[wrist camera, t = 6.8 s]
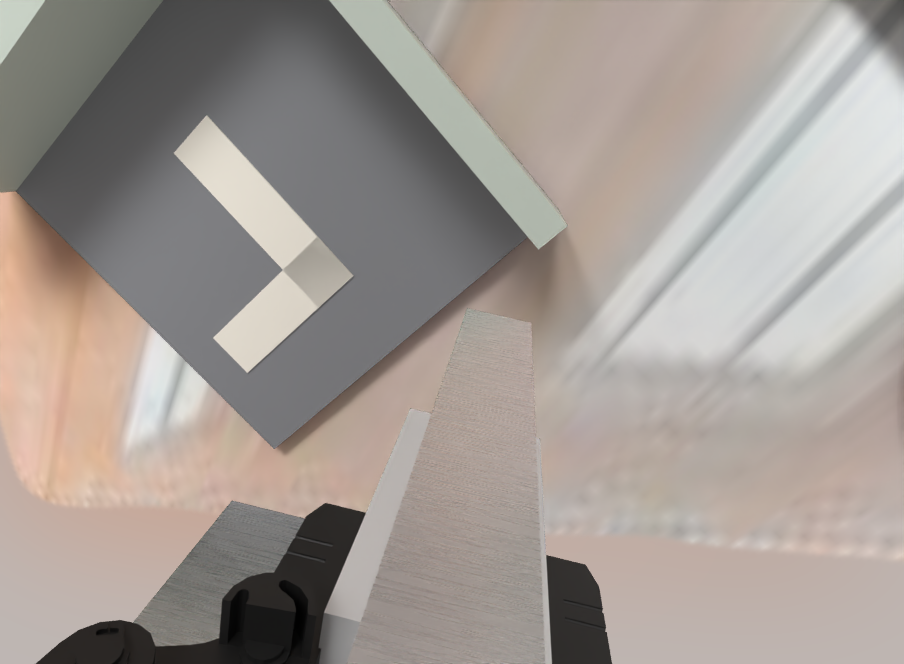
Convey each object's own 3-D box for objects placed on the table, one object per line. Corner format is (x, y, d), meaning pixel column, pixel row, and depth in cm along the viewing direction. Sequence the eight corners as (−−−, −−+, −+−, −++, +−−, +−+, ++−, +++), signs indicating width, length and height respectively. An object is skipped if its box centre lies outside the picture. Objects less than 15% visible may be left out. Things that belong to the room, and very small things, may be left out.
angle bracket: (458, 602, 19) (362, 1282, 8) (228, 544, 19) (-186, 1111, 8) (531, 322, 16) (549, 796, 4) (251, 259, 16) (-402, 543, 5)
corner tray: (7, 169, 33) (-121, 174, 26) (255, -160, 26) (168, -261, 20) (279, 442, 36) (226, 506, 29) (558, 209, 30) (567, 225, 23)
